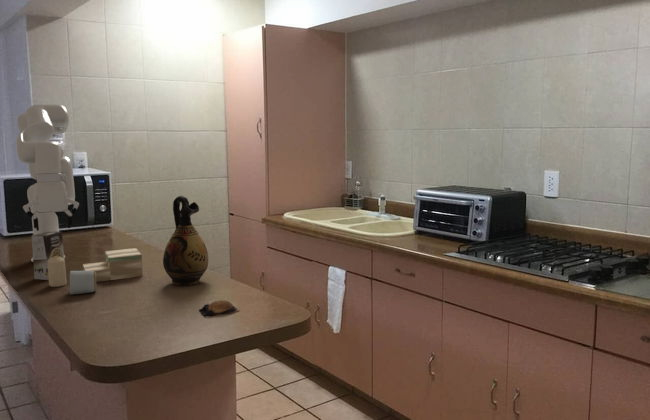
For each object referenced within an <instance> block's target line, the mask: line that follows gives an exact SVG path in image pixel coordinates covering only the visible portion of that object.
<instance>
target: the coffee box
mask: <svg viewBox="0 0 650 420" xmlns="http://www.w3.org/2000/svg"><path fill="white" fill-rule="evenodd" d="M31 250H32V258H33V262H32V263H33V273H34V280H42V281H44V280H45V281H49V277H48V266H47V261H48V260H49V259H50V258H53V257H54V256H59V257H62V258H63V259H64V260H65V258H64V255H65V253H64V241H63V231H59V232H44V233H40V234H36V235H33V234H32V235H31Z"/></svg>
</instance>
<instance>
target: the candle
mask: <svg viewBox="0 0 650 420" xmlns="http://www.w3.org/2000/svg"><path fill="white" fill-rule="evenodd" d="M47 266H48V277H49V280H48V286H49V287H51V288H57V287H63V286H66V285H67V271H66V260H65V258H64V259H63V258H62V257H59V256H54V257H53V258H50V259H49V260H48V261H47Z"/></svg>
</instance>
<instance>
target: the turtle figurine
mask: <svg viewBox="0 0 650 420" xmlns="http://www.w3.org/2000/svg"><path fill="white" fill-rule="evenodd" d="M198 312H199V313H200V314H201V316H202V317H205V318H206V317H208V318H212V317H218V316H223V315H224V316H225V315H228V314H233V313H239V312H240V310H239V309H238V308H237V307H235V306H234V305H233V303H232V302H230V301H229V300H225V299H224V300H222V299H221V300H216V301H213V302H211V303H209V304H208V303H207V304H204V305H203V307H201V308H200V309H198Z"/></svg>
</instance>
